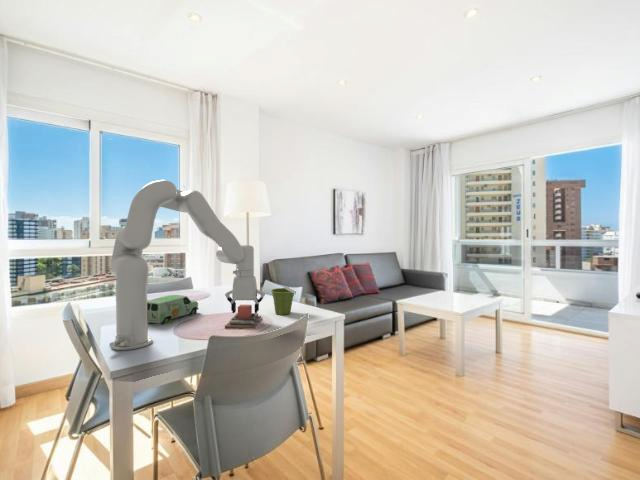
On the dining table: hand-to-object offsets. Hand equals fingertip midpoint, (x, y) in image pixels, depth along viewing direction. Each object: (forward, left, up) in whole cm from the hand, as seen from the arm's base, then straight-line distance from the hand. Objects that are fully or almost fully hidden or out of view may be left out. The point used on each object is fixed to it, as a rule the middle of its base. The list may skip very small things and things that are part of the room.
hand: (245, 312), depth 145 cm
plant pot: (+15, -15, -4) cm, 22 cm away
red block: (0, 0, -3) cm, 3 cm away
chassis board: (-2, 0, -4) cm, 5 cm away
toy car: (+5, +35, -4) cm, 35 cm away
